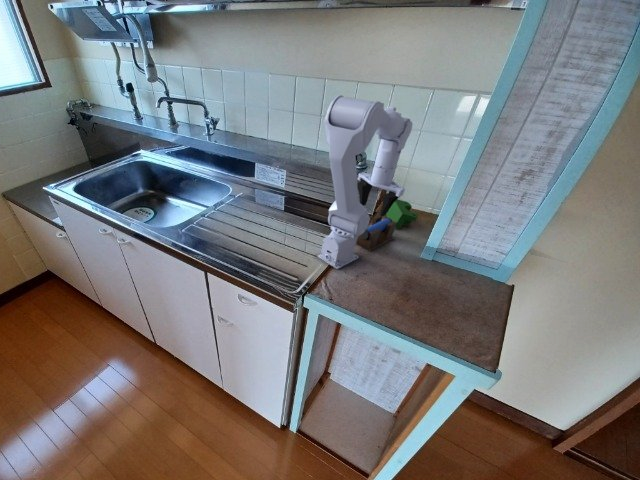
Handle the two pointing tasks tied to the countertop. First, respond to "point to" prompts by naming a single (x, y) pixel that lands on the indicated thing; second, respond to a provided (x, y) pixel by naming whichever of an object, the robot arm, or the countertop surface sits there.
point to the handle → (376, 227)
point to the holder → (377, 235)
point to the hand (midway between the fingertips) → (372, 210)
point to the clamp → (401, 213)
